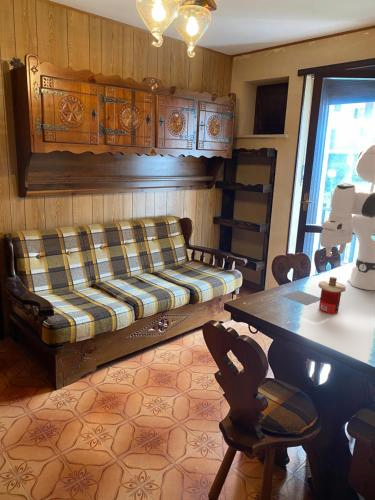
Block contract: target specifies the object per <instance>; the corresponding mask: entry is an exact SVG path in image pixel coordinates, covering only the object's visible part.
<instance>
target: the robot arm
mask: <svg viewBox="0 0 375 500" xmlns="http://www.w3.org/2000/svg"><path fill="white" fill-rule="evenodd" d="M355 173H356V175H357V176H358V177H359V179H361V180H363V181H364V182H367V183H370V184H369V190H368V192H364V191H363V192H362V191H356V186H355V184H353V183H346V182H345V183H344V182H343V183H337V184H336V185H335V187H334V190H333V193H332V196H331V197H332V198H331V202H330V203H331V204H330V207H331V209H330V213H329V217H328V218H327V219H326V220H325V221H323V222H322V224H321V228H322V230H321V235H320V241H319V242H320V246H321V247H323V248H325V252H326V255H325V256H326V257H329V258H331V257H333V252H332V249H333V247H337V246H339V248H338V250H337V253H338V254H341V255H342V254H344V251H345V248H346V246H347V244H349V243H352V242H353V234H354V235H355V236H356V238H357V241H358V255H357V258H356V260H355V266H353V267H352V271H351V274H350V277H349V278H348V279H347V282H349V284H350V285H351V286H353V287H355V288H358V289H361V290H366V291H367V290H368V291H375V240H374V239H373V237H372V236H375V142H373V143H371V144H369V145H368V146H367V147H366V148H364V149H362V150H360V151H359V153H358V155H357V159H356V165H355Z"/></svg>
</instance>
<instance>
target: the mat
mask: <svg viewBox="0 0 375 500" xmlns="http://www.w3.org/2000/svg"><path fill="white" fill-rule="evenodd" d="M280 296H281V297H283V298H286V299H289V300H292V301H294V302H297V303H299V304H302V305H304V306H309V305H311V304H314V303H317V302H320V296H319V297H318V296H316V295H313V294H310V293H307V292H305V291H301V290H299V289H297V290H295V291H291V292H287V293H285V294H282V295H280Z"/></svg>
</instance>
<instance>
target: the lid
mask: <svg viewBox="0 0 375 500" xmlns="http://www.w3.org/2000/svg"><path fill="white" fill-rule="evenodd" d="M337 280H338V279H337V277H334V276H330V277H329V280H320V281H319V282H318V288H319V289H321V290H322V289H323V290H326V291H331V292H341V293H343V292H346V290H347V289H346V288H347V287H346V285H345V284H343V283H340V282H338V281H337Z"/></svg>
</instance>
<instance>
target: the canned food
mask: <svg viewBox="0 0 375 500" xmlns="http://www.w3.org/2000/svg"><path fill="white" fill-rule="evenodd" d="M341 295H342V292H331V291H326V290H323V289H321V290H320V296H319V298H320V301H319V306H318V310H319V311H320V312H321V313H324V314H328V315H336V314H338V312H339V308H340V303H341Z"/></svg>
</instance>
